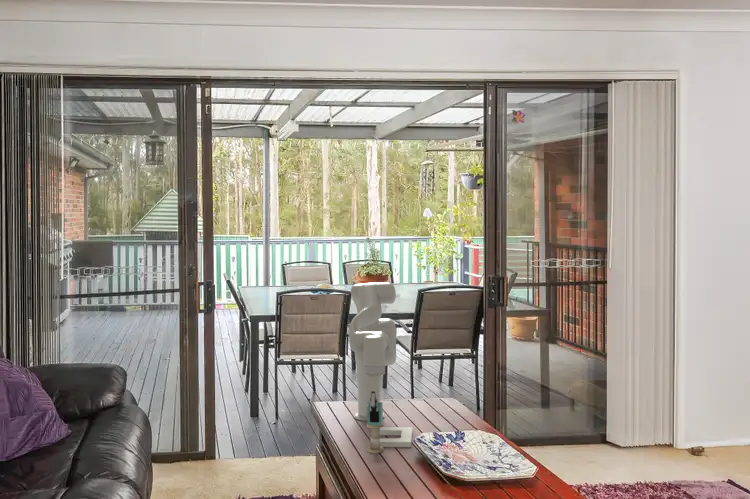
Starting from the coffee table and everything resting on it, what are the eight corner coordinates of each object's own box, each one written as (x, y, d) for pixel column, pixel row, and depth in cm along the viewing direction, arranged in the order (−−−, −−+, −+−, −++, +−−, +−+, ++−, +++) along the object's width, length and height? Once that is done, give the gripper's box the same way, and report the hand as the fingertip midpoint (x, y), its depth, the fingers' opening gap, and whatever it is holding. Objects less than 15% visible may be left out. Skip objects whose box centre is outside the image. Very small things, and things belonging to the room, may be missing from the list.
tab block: (369, 421, 275) (368, 402, 274) (382, 421, 274) (382, 402, 274) (367, 425, 270) (367, 405, 269) (381, 425, 269) (381, 406, 269)
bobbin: (367, 447, 283) (367, 421, 282) (383, 447, 282) (383, 421, 281) (366, 453, 277) (365, 426, 276) (382, 453, 276) (382, 426, 275)
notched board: (377, 432, 301) (377, 427, 301) (412, 432, 300) (412, 427, 300) (373, 446, 283) (373, 441, 283) (410, 447, 282) (410, 441, 282)
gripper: (366, 364, 280) (367, 413, 281) (360, 375, 263) (362, 426, 264) (386, 364, 279) (387, 413, 280) (382, 375, 262) (383, 427, 263)
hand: (375, 419), depth 272 cm, fingers closed on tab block, 4 cm apart
